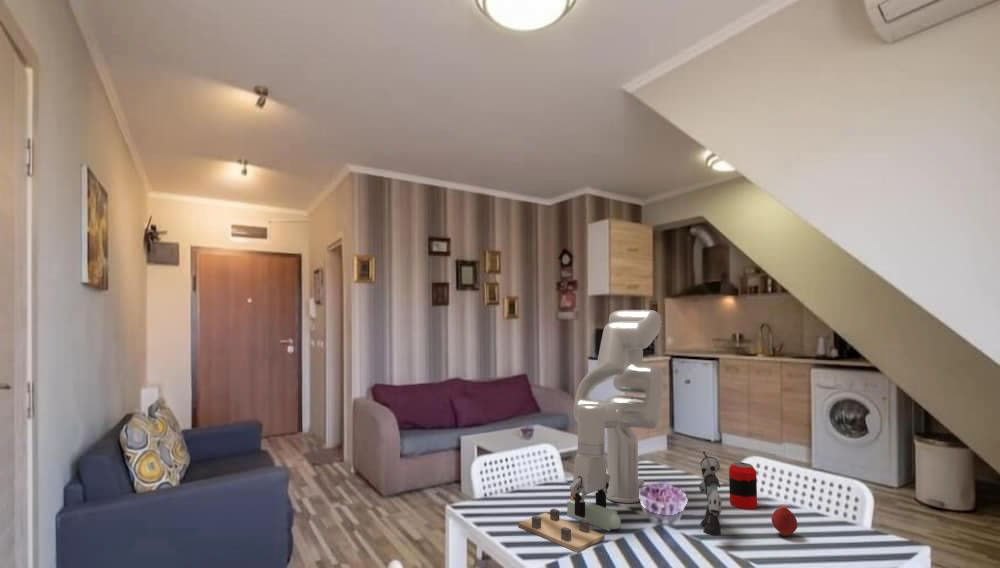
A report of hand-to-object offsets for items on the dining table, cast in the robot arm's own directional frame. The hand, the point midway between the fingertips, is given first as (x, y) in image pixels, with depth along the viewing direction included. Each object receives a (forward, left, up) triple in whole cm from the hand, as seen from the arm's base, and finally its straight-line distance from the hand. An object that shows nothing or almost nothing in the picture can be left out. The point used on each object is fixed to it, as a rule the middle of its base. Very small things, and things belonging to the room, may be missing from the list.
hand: (590, 512), depth 139 cm
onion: (-30, +40, -3) cm, 50 cm away
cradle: (+12, -1, -3) cm, 12 cm away
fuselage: (-1, 0, -3) cm, 3 cm away
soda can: (-45, +24, -3) cm, 51 cm away
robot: (-20, +25, -3) cm, 32 cm away
